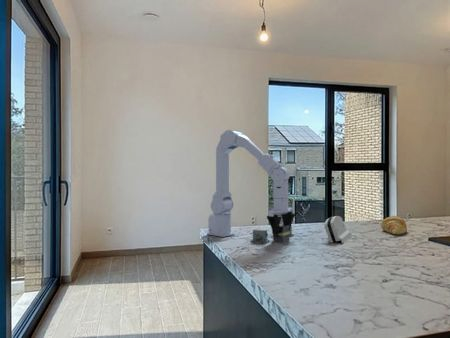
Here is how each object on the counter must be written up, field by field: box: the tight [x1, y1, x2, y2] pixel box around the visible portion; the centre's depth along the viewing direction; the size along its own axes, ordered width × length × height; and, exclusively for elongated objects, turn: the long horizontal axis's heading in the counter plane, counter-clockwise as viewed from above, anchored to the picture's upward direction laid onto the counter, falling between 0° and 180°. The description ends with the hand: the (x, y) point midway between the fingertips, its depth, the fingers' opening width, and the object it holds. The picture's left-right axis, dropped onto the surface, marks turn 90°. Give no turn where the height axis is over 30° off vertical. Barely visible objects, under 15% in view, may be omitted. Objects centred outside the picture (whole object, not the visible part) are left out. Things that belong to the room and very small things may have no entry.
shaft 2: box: [271, 222, 295, 237], centre depth 150 cm, size 8×6×4 cm
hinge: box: [324, 215, 352, 245], centre depth 142 cm, size 17×5×10 cm, turn 150°
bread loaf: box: [380, 215, 408, 235], centre depth 156 cm, size 21×10×8 cm, turn 161°
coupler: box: [272, 223, 290, 243], centre depth 140 cm, size 5×5×6 cm
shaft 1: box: [250, 228, 270, 244], centre depth 140 cm, size 8×6×4 cm
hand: (281, 232), depth 140 cm, fingers open, 7 cm apart
